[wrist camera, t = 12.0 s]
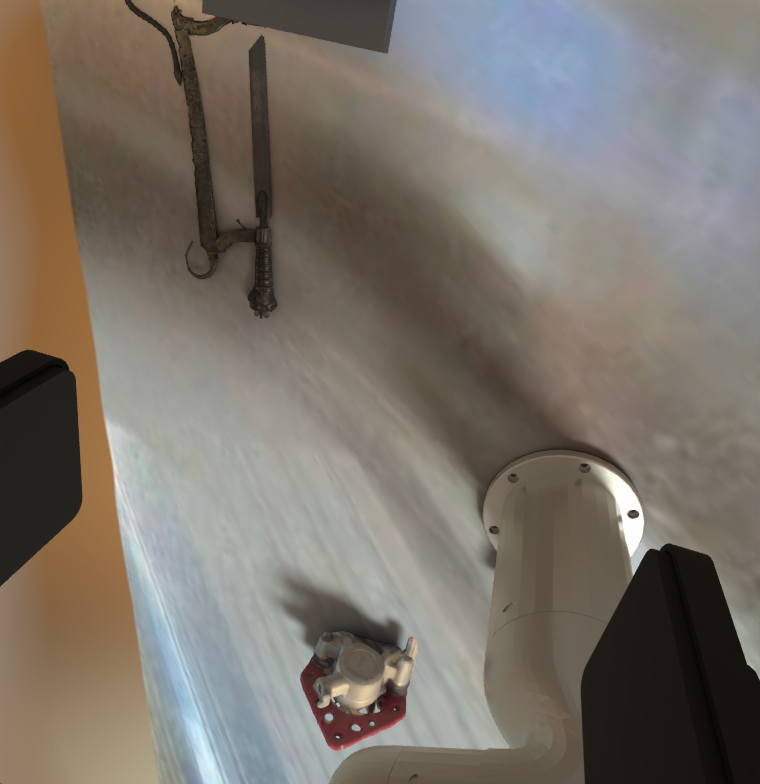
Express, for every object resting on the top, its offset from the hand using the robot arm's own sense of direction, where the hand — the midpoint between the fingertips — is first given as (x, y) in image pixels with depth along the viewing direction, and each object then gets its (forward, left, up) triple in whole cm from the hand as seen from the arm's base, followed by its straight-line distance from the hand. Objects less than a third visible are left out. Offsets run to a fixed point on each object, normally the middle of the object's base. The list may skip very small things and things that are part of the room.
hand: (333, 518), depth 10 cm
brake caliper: (-48, +1, -37) cm, 60 cm away
